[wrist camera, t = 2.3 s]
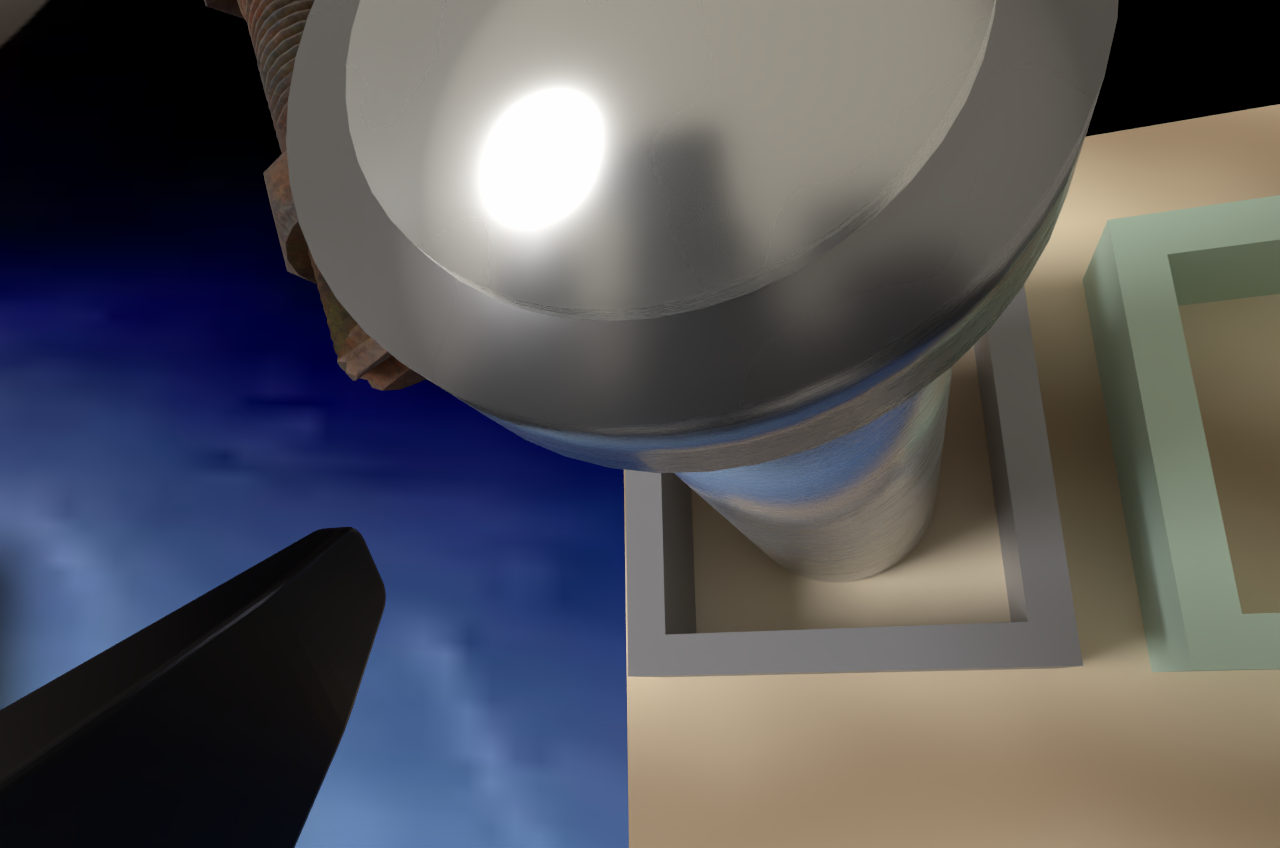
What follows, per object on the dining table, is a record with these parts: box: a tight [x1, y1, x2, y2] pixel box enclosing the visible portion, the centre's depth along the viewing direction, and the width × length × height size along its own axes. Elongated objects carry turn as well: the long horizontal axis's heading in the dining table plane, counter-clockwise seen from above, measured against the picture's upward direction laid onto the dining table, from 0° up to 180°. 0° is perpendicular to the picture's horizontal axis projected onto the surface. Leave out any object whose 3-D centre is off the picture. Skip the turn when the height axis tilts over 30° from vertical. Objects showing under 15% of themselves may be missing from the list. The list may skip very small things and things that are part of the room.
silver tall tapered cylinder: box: [286, 0, 1118, 583], centre depth 12 cm, size 5×5×14 cm
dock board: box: [624, 104, 1280, 848], centre depth 17 cm, size 14×18×1 cm
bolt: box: [204, 0, 426, 390], centre depth 23 cm, size 6×5×15 cm
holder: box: [625, 286, 1083, 677], centre depth 17 cm, size 7×7×2 cm
